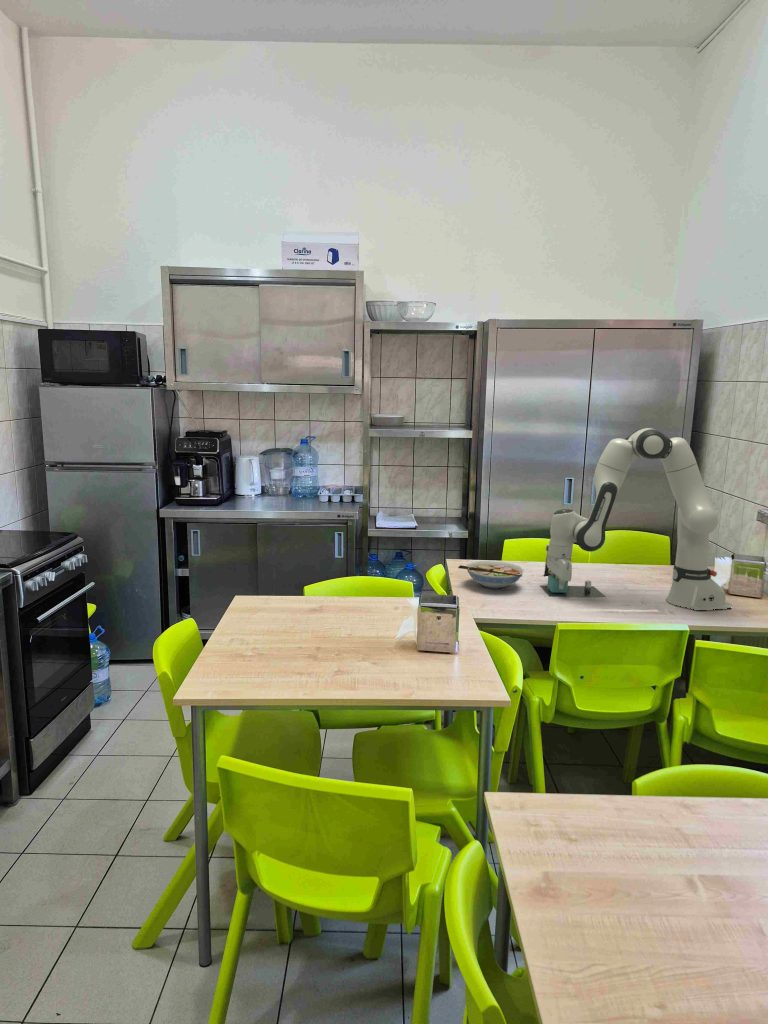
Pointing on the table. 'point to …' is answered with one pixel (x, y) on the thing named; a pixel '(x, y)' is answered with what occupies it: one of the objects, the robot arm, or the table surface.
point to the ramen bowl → (494, 573)
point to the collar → (556, 584)
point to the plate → (575, 591)
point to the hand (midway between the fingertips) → (557, 585)
